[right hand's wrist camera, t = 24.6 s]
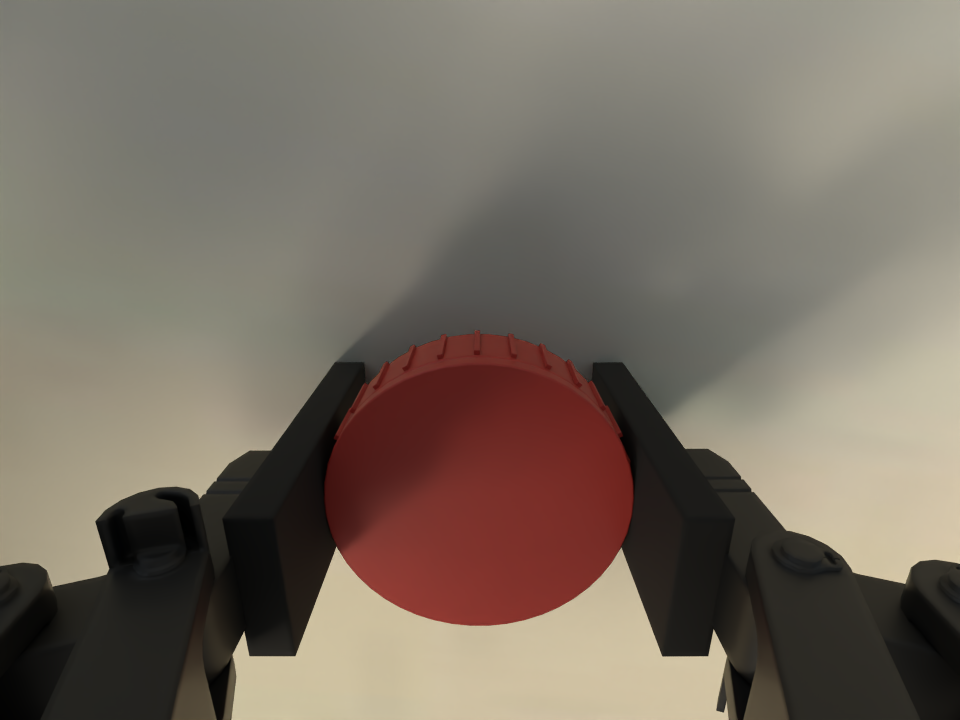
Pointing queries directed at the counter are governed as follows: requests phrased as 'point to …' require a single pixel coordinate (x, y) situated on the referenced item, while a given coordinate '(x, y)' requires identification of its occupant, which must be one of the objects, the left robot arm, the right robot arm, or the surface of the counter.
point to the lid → (479, 481)
